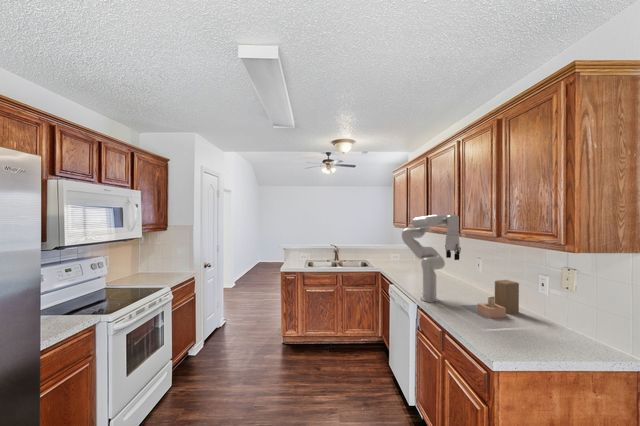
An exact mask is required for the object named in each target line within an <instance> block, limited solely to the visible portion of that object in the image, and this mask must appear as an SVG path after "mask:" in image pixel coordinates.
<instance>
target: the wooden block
mask: <svg viewBox="0 0 640 426" xmlns="http://www.w3.org/2000/svg"><path fill="white" fill-rule="evenodd" d="M519 302H520V283H519V282H517V281H512V280H509V279H508V280H507V279H500V280H499V279H497V280H495V281H494V303H495V304H497V305H500V306H502V307H504V308H506V315H512V314H518V313H519V312H520V311H519V310H520V305H519V304H520V303H519Z"/></svg>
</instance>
